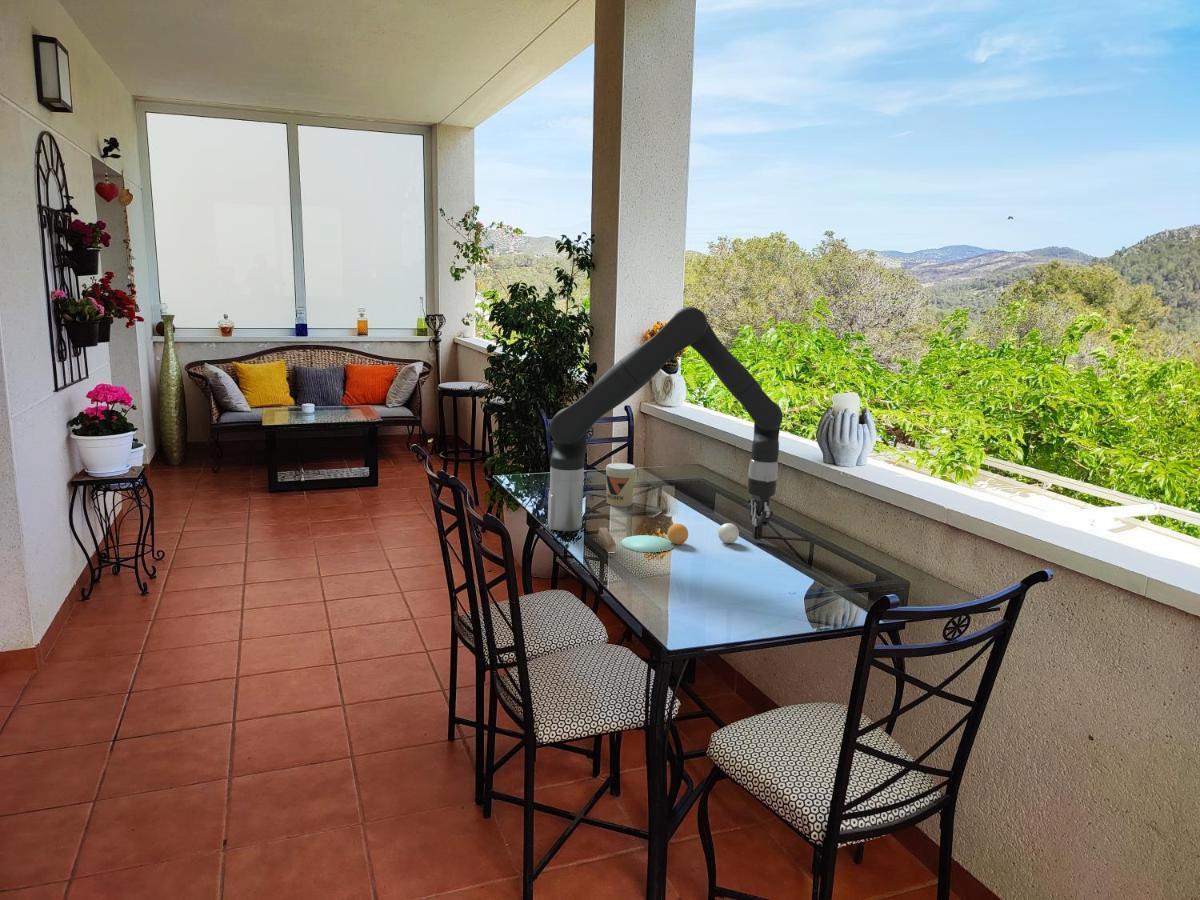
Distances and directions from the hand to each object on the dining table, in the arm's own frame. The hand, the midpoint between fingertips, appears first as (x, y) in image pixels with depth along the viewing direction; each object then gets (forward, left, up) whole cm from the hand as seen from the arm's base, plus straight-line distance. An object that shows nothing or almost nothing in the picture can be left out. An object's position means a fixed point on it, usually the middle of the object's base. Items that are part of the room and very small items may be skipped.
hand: (756, 538), depth 213 cm
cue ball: (-8, 0, +2) cm, 8 cm away
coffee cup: (-30, +40, -1) cm, 50 cm away
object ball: (-22, 0, +2) cm, 22 cm away
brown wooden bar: (-41, 0, -1) cm, 41 cm away
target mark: (-30, 0, -1) cm, 30 cm away
